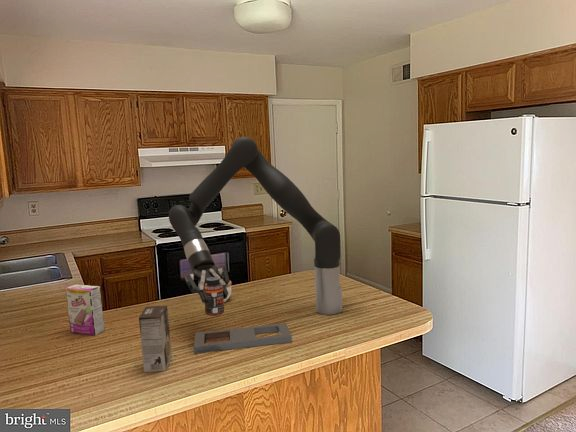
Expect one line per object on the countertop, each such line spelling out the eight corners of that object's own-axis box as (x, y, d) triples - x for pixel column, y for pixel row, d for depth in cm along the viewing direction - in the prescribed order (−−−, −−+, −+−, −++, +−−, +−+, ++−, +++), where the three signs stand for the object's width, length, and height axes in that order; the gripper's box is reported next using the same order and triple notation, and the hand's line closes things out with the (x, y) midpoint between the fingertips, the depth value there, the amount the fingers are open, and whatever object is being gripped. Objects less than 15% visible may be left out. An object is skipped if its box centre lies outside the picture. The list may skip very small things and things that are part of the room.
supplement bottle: (220, 317, 134) (218, 281, 132) (202, 316, 135) (199, 281, 133) (227, 310, 139) (225, 276, 138) (209, 309, 141) (207, 275, 139)
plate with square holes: (286, 328, 148) (285, 322, 147) (291, 342, 137) (291, 336, 136) (195, 338, 143) (195, 332, 143) (194, 353, 132) (193, 347, 132)
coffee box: (150, 358, 130) (145, 306, 128) (172, 356, 131) (167, 304, 129) (143, 372, 121) (137, 317, 119) (166, 370, 122) (161, 315, 120)
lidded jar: (221, 306, 172) (219, 283, 171) (200, 303, 178) (199, 280, 177) (237, 298, 181) (236, 276, 180) (218, 295, 187) (216, 274, 186)
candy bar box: (69, 333, 152) (64, 288, 150) (80, 327, 157) (75, 283, 155) (95, 336, 149) (89, 289, 147) (105, 330, 153) (100, 285, 151)
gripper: (179, 252, 137) (197, 298, 129) (221, 246, 145) (240, 288, 137) (175, 266, 142) (191, 311, 134) (215, 258, 150) (233, 300, 142)
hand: (216, 299), depth 135 cm, fingers closed on supplement bottle, 6 cm apart
